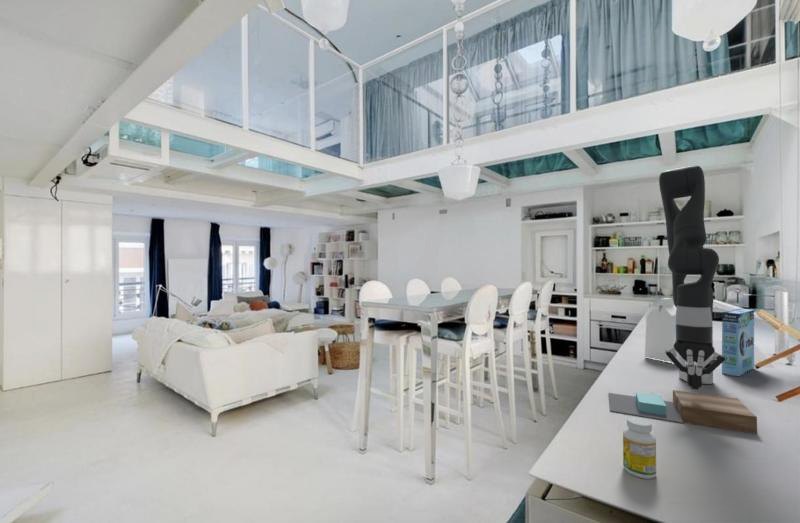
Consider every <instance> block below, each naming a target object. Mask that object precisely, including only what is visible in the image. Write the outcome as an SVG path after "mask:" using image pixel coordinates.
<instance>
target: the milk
mask: <svg viewBox="0 0 800 523" xmlns="http://www.w3.org/2000/svg"><path fill="white" fill-rule="evenodd" d="M676 309H677V308H676V307H675V305H674V301H673V298H671V297H669V298H668V297H665V298H660V302H659V305H657V306H656V307H655V308H654V309H652V310H651V311H650V312H648V313H647V315H646V318H645V342H644V343H645V344H644V358H645V357H649V358H655V359H660V360H664V361H670V362H672V361H671V359H670V358H669V357H668V356H667V355H666V354H665V351H666V350H670V349H672V348H674V344H675V342H676ZM676 354H677V356H676V357H675V358H676V359H677V360H678V361H679V353H678V352H677V351H676Z"/></svg>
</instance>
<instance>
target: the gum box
mask: <svg viewBox="0 0 800 523" xmlns="http://www.w3.org/2000/svg"><path fill="white" fill-rule="evenodd" d="M721 313H722V314H721V323H722V324H721V327H722V328H721V329H722V330H721V355H722V356H723V357H724V358H725V361H723V362H722V363H721V374H723V375H727V376H731V375H733V376H732V377H736V376H739V377H740V376H742V375H744V374H746V373H748V372H750V371H752V370H754V369H755V310H754V309H747V308H746V309H745V308H736V309H733V310H727V311H722V312H721ZM753 368H754V369H753ZM751 369H752V370H751ZM749 370H750V371H749ZM747 371H748V372H747ZM745 372H746V373H745Z"/></svg>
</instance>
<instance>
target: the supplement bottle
mask: <svg viewBox="0 0 800 523" xmlns="http://www.w3.org/2000/svg"><path fill="white" fill-rule="evenodd" d="M626 426H627V427H625V429H624V430H623V431H622V446H623V447H622V448H623V449H622V453H623V454H622V460H623V461H622V462H623V468H624V470H625V471H626V472H627V473H629V474H630V475H632V476H634V477H637V478H641V479H648V480H649V479H650V480H651V479H654V478H655V477H656V475H657V439H656V436H655V435H654V434H653V433H652V431H653V427H652V426H653V425H652V422H650V421H649V420H647V419H645V418H643V417H638V416H634V417H633V416H630V417H629V416H628V417H627V418H626Z"/></svg>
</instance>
